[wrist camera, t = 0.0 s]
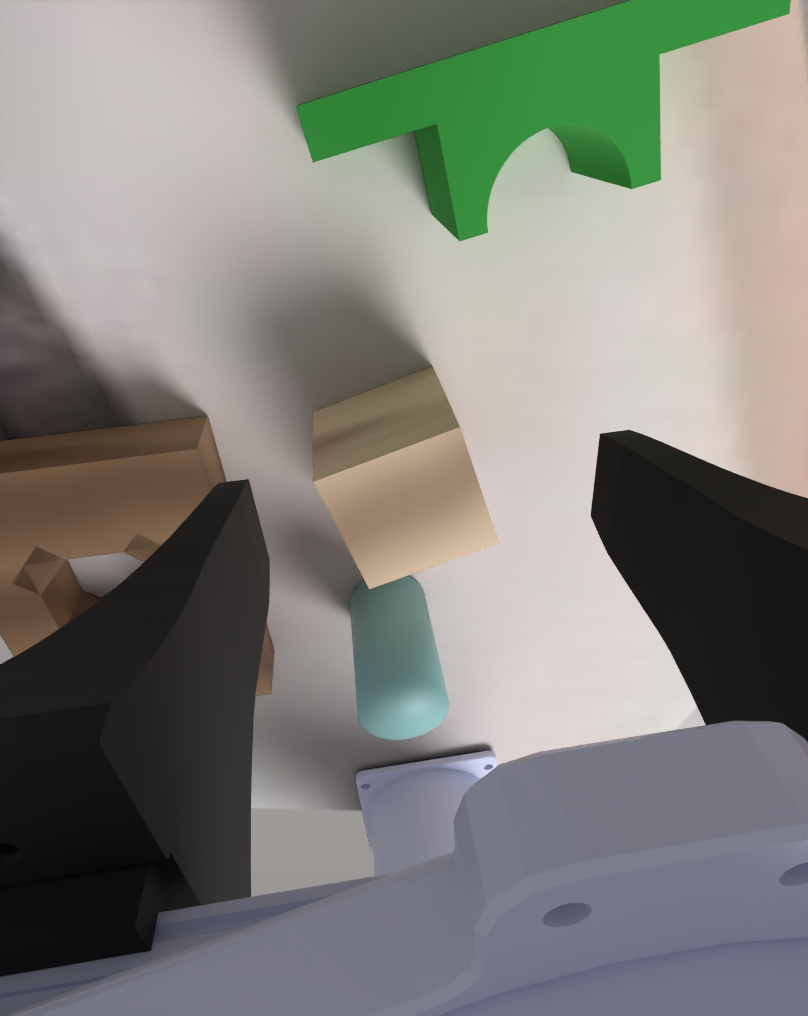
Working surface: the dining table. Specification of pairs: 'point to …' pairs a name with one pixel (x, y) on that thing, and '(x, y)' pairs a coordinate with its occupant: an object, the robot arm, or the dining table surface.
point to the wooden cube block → (399, 479)
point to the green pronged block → (531, 101)
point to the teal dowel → (396, 661)
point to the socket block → (95, 514)
